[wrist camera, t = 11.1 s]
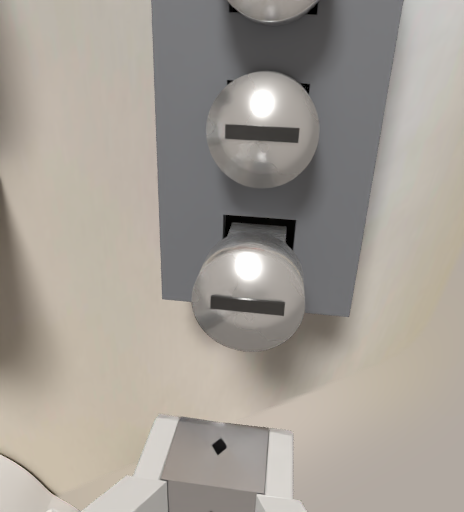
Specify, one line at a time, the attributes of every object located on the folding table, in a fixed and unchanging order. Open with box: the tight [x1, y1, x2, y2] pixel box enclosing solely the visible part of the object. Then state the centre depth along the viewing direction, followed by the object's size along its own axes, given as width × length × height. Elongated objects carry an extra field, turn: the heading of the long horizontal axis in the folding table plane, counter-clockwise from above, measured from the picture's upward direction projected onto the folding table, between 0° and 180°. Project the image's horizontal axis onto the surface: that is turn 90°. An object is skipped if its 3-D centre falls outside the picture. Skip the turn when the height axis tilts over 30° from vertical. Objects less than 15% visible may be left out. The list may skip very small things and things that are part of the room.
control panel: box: [151, 0, 403, 317], centre depth 20 cm, size 17×9×5 cm, turn 178°
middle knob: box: [206, 71, 319, 188], centre depth 18 cm, size 4×4×5 cm
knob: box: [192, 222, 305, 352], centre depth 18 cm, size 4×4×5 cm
